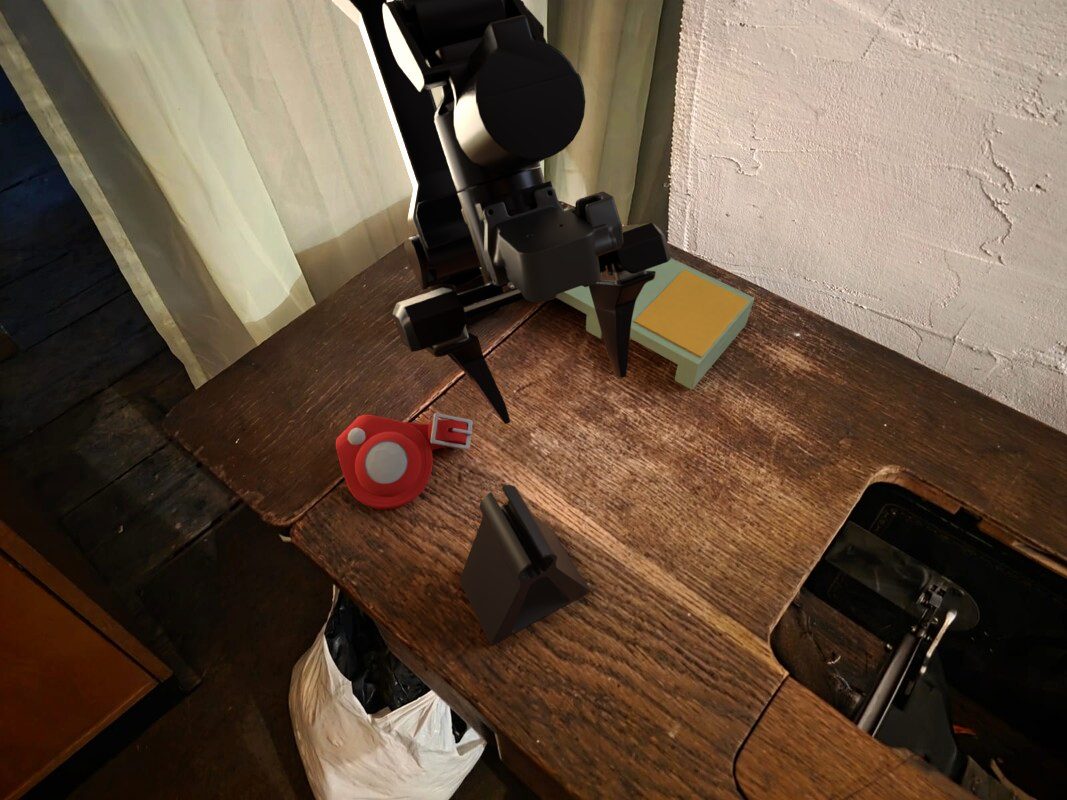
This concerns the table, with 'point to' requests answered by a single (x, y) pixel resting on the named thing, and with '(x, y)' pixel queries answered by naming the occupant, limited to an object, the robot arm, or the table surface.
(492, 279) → the robot arm
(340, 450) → the red tape measure
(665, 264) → the shoe shelf
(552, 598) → the phone stand
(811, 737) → the table surface
